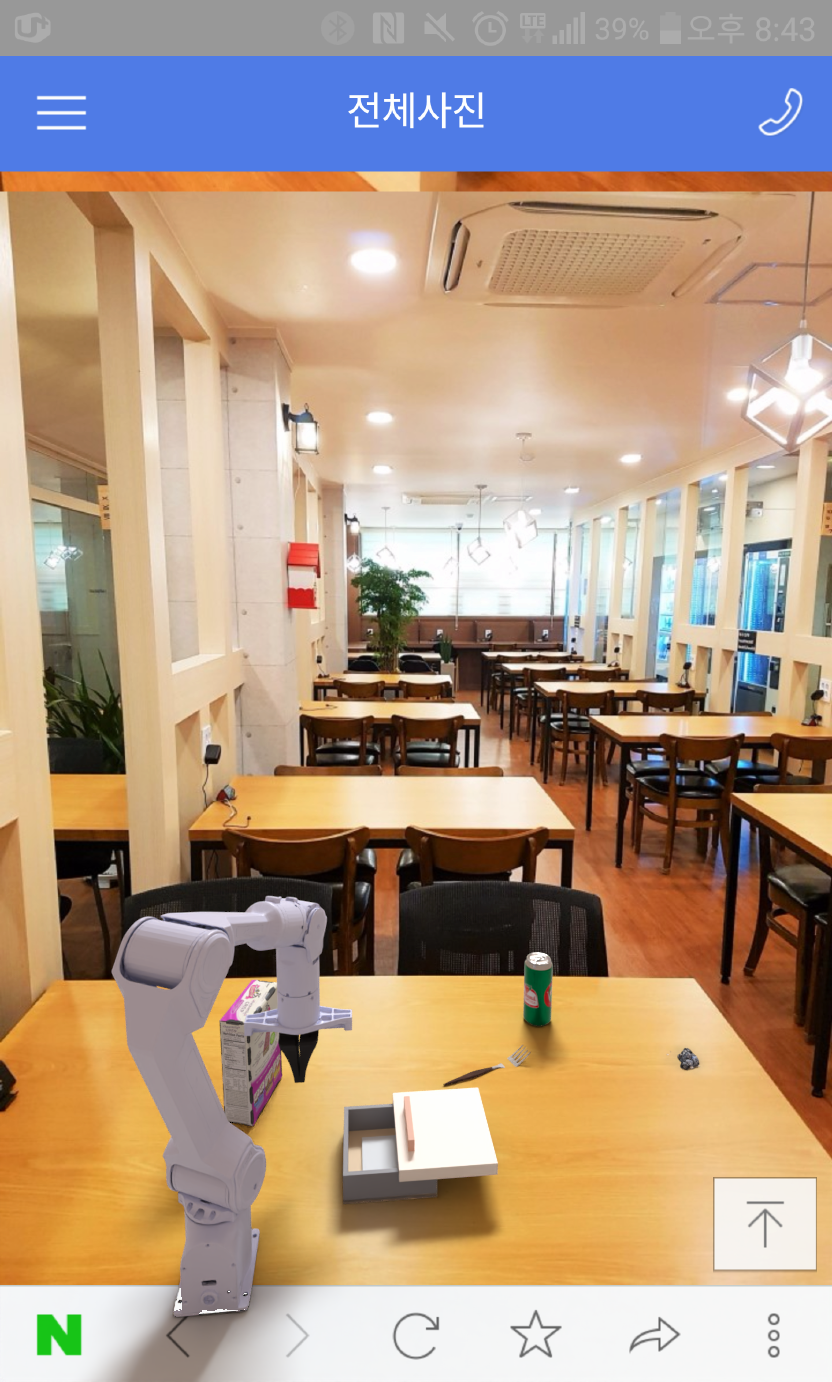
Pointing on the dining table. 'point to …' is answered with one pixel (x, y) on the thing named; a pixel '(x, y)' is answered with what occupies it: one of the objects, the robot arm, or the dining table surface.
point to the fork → (485, 1070)
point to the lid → (442, 1135)
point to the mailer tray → (375, 1158)
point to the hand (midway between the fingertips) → (300, 1077)
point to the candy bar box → (249, 1055)
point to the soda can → (538, 989)
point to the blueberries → (688, 1059)
